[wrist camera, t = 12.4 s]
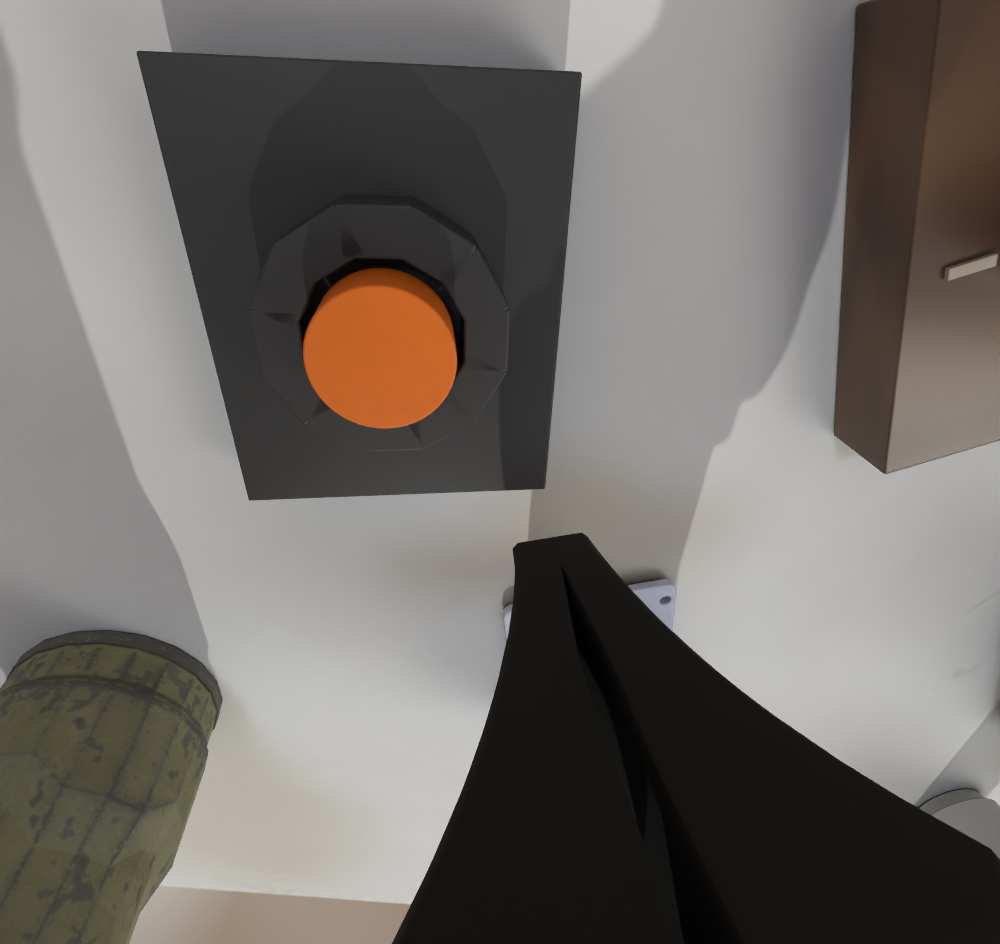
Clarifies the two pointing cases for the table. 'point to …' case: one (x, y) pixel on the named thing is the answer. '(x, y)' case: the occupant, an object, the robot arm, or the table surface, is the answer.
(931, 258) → the dial panel
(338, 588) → the table surface
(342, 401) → the button
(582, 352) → the table surface
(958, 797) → the energy drink can
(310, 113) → the button base
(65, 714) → the thermos
